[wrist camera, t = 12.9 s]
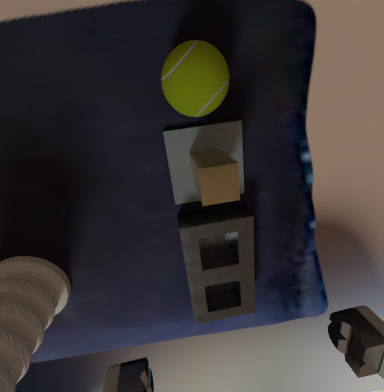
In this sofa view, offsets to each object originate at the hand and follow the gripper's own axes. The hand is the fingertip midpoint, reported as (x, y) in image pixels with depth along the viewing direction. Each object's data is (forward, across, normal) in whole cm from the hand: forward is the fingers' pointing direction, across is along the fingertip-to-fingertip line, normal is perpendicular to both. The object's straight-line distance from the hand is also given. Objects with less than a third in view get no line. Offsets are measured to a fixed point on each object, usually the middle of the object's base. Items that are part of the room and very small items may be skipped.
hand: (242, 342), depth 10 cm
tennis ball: (+23, -3, -12) cm, 26 cm away
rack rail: (+23, -3, +14) cm, 27 cm away
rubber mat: (+23, -3, -2) cm, 23 cm away
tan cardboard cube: (+22, -3, -2) cm, 23 cm away
